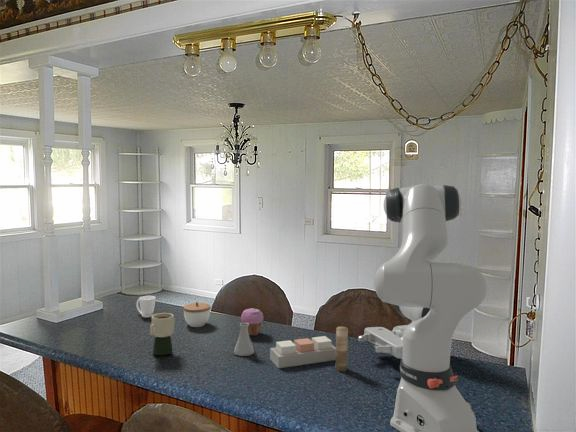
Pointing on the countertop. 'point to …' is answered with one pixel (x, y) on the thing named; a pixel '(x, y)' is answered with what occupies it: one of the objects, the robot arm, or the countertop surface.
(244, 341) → the flask
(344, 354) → the tan wooden cylinder
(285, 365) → the keypad bezel
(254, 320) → the cupcake
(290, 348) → the ivory key
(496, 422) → the countertop surface
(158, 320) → the character mug
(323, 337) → the ivory key
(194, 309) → the lidded jar
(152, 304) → the cup
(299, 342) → the terracotta key
